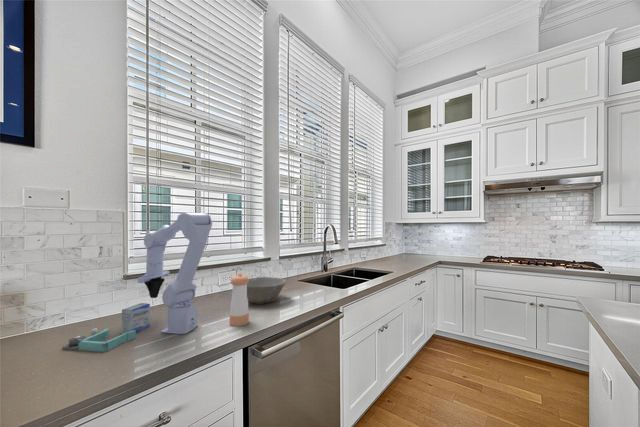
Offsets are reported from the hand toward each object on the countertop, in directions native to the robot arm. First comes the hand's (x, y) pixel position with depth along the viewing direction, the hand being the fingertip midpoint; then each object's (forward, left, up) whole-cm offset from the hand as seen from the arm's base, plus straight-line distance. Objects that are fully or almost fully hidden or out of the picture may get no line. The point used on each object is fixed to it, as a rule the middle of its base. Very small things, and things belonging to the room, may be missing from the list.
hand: (153, 297), depth 107 cm
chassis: (+2, +20, -9) cm, 22 cm away
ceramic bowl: (-33, -33, -10) cm, 48 cm away
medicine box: (0, +9, -10) cm, 13 cm away
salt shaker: (-34, -4, -10) cm, 36 cm away
